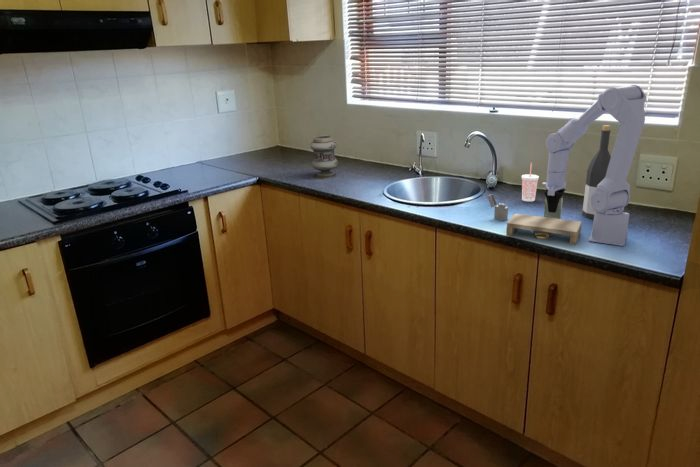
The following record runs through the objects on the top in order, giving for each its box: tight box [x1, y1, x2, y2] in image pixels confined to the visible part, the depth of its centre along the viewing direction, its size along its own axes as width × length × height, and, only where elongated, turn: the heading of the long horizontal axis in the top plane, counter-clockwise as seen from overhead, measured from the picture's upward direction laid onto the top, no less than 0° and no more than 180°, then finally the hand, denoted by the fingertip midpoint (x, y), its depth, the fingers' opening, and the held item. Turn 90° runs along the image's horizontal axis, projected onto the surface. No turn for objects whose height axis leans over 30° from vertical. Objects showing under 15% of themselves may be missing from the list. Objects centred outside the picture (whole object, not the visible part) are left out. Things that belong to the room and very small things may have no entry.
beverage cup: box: [521, 162, 540, 203], centre depth 195 cm, size 6×6×14 cm
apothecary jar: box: [310, 134, 339, 179], centre depth 241 cm, size 12×12×18 cm
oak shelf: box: [505, 213, 582, 246], centre depth 162 cm, size 20×10×4 cm, turn 60°
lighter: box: [486, 193, 509, 221], centre depth 178 cm, size 7×2×8 cm, turn 47°
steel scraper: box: [533, 196, 564, 236], centre depth 168 cm, size 6×15×8 cm, turn 150°
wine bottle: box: [581, 124, 611, 220], centre depth 172 cm, size 8×8×30 cm
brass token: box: [534, 232, 550, 240], centre depth 161 cm, size 4×4×1 cm
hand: (552, 211), depth 174 cm, fingers closed on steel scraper
